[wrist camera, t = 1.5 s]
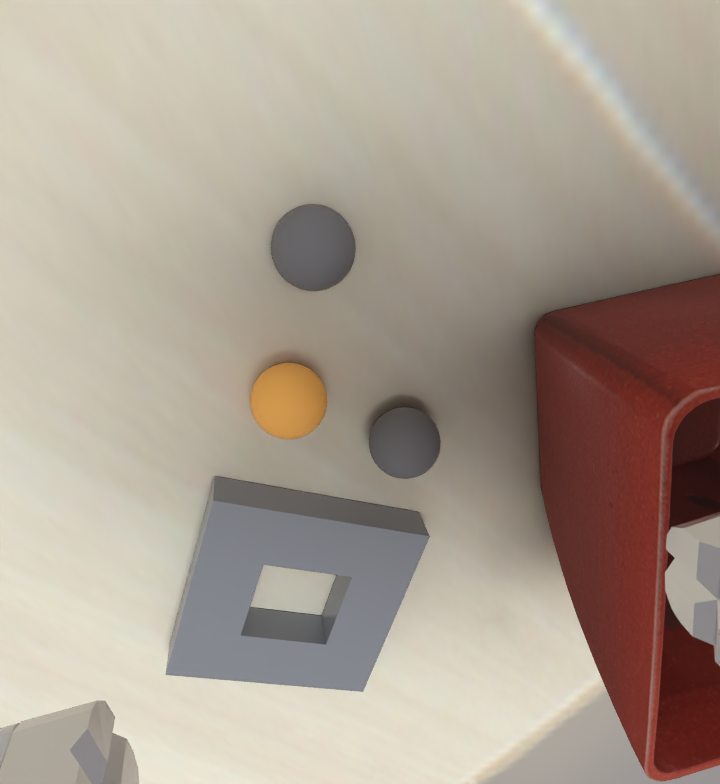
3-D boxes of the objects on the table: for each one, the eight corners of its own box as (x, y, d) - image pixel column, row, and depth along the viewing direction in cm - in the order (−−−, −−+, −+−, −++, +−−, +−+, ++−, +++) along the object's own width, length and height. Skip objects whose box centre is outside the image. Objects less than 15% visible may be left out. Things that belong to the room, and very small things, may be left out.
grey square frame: (418, 512, 40) (429, 536, 37) (356, 662, 44) (362, 691, 42) (214, 476, 36) (213, 500, 34) (169, 643, 40) (165, 674, 38)
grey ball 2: (438, 403, 37) (460, 435, 33) (416, 461, 38) (434, 498, 34) (375, 389, 35) (390, 420, 32) (354, 448, 37) (366, 485, 33)
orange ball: (331, 361, 34) (341, 390, 31) (310, 424, 36) (318, 459, 32) (259, 344, 33) (262, 372, 30) (241, 409, 35) (242, 444, 31)
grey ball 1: (358, 212, 31) (373, 226, 28) (335, 287, 33) (346, 310, 29) (281, 188, 30) (286, 199, 27) (260, 267, 31) (262, 288, 28)
